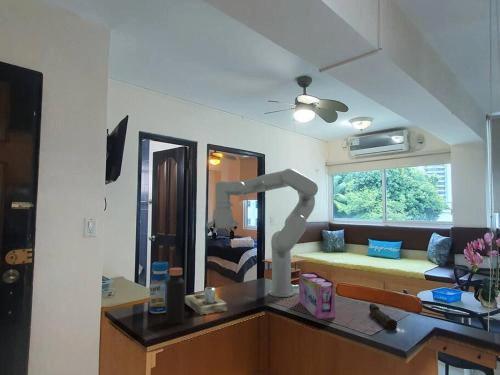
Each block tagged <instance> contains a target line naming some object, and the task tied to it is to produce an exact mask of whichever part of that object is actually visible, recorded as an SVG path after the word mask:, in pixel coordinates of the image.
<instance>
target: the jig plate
mask: <svg viewBox="0 0 500 375" xmlns="http://www.w3.org/2000/svg"><path fill="white" fill-rule="evenodd" d="M184 304H186V305H187V306H188V307H189V308H190V309H192V310H193V311H194V310H195V313H197V314H198V313H199V314H200V315H199V314H198V315H199V316H204V315H203V314H206V315H209V314H208V313H212V314H215V313H214V312H217V313H221V312H222V311H223V312H228V303H227V302H225V301H224V300H222V299H221V298H219V297H218V296H216V295H215V304H211V305H205V292H203V293H196V294H189V295H185V296H184Z"/></svg>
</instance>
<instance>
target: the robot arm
mask: <svg viewBox="0 0 500 375" xmlns="http://www.w3.org/2000/svg"><path fill="white" fill-rule="evenodd" d="M287 187H290V188H292V189H293V190H294V191H297V195H298V202H297V204H296V205H295V206H294V208H293V209H292V210H291V212H290V214H288V216H286V218H285V220H284V225H283V227H282V229H281V230H278V231H276V232H274V233H273V235H272V237H271V240H270V242H271V243H270V245H271V289H270V290H269V291H268V294H269V295H270V296H272V297H276V298H277V297H278V298H288V297H292V296H294V295H295V292H294V290H297V289H299V284H292V270H291V269H292V268H291V267H292V261H291V260H292V259H291V257H292V256H291V250H292V249H293V248H294V247H295V246H296V244H297V243H298V241H300V239H301V238H302V236H303V234H304V233H305V232H306V230H307V227H308V223H307V222H308V221H307V220H308V219H309V217H310V216H311V214H312V213H313V211H314V208H315V205H316V198H315V196H316V195H317V193H318V191H319V187H318V184H317V182H315V181H314V180H313V179H311V178H309V177H308V176H306V175H304V174H302V173H300V171H297V170H295V169H294V168H286V169H284V170H279V171H276V172H270V173H267V174H266V173H265V174H262V175H259V176H257V177H256V176H255V178H250V179H246V180H242V181H240V180H233V181H216V182H215V188H214V189H215V192H214V193H215V208H213V213H212V220H211V221H210V222H208V223H206V227H207V228H208V230H209V231H210V232H211V239H212V241H215V242H216V241H217V231H218V229H220V230H221V229H228V230H230V231H229V239H230V240H233V241H234V238H235V232H236V230H237V229H238V226H239V224H240V223H239V222H238V221H236V220H234V215H233V210H232V208H231V207H233V203H231V196H234V197H241V196H246V195H251V194H255V193H262V192H267V191H272V190H277V189H282V188H287Z"/></svg>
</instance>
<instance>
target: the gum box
mask: <svg viewBox="0 0 500 375" xmlns="http://www.w3.org/2000/svg"><path fill="white" fill-rule="evenodd" d="M298 286H299V288H298V289H299V298H298V299H299V303H300V305H302V306H303V307H304V308H305V309H306V310H307V311H308V312H309V313H311V315H313V316H314V317H315V318H316V319H333V318H336V302H335V301H336V300H335V298H336V295H335V283H334V282H333V281H332V280H330V279H328V278H326V277H324V276H322V275H320V274H318V273H316V272H315V271H314V272H313V271H311V272H310V271H309V272H299V274H298Z"/></svg>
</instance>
